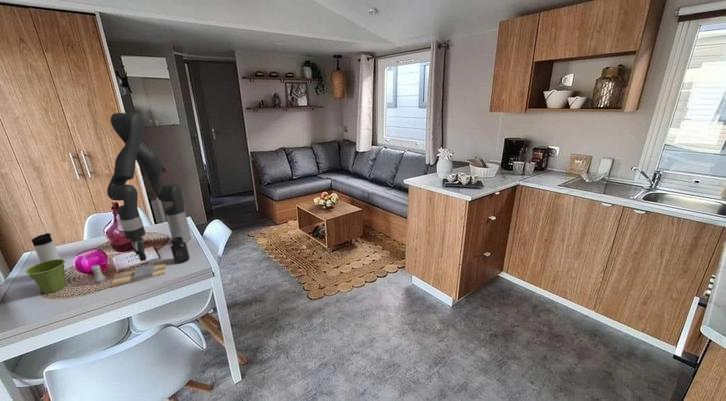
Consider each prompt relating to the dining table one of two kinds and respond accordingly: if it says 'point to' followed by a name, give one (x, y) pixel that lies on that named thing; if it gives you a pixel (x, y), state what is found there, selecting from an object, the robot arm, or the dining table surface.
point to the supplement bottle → (179, 250)
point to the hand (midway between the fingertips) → (143, 260)
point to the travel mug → (45, 248)
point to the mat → (128, 275)
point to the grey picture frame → (143, 272)
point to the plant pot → (48, 275)
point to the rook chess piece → (98, 275)
